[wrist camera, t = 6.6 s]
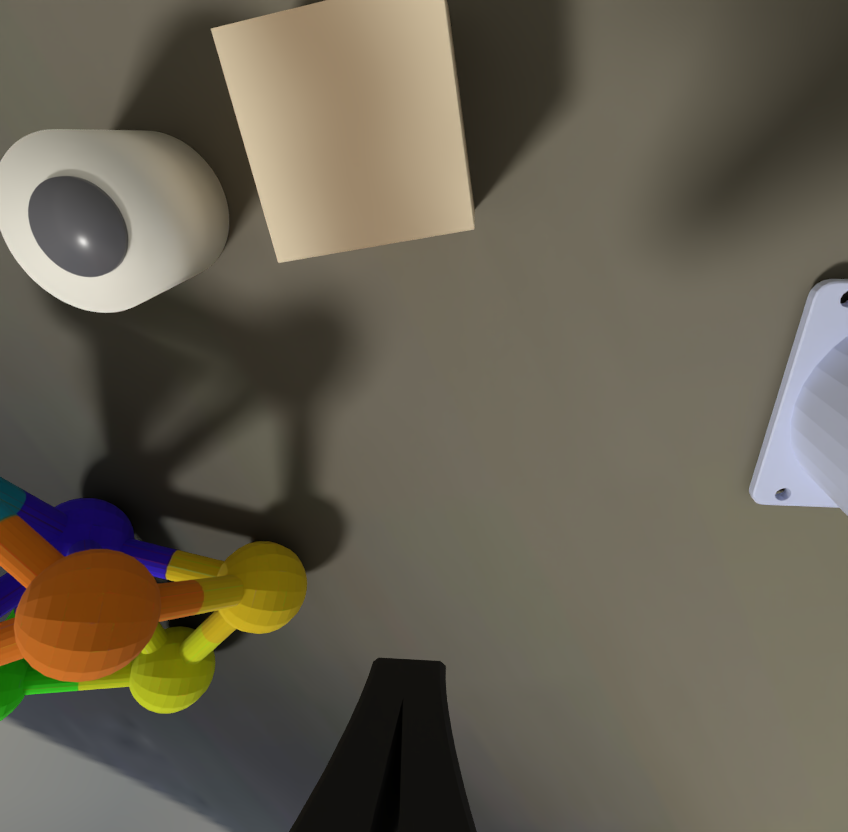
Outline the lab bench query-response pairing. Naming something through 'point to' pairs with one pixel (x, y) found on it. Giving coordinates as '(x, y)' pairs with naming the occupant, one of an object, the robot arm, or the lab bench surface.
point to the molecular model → (123, 603)
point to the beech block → (351, 123)
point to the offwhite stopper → (110, 214)
